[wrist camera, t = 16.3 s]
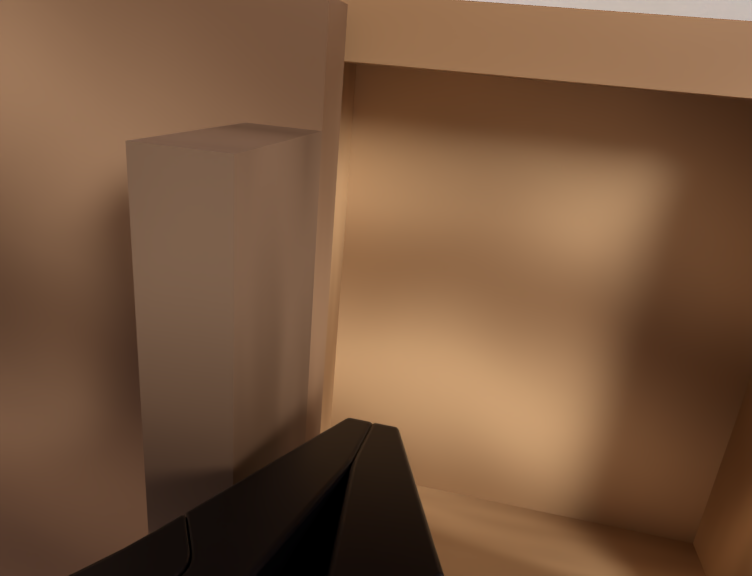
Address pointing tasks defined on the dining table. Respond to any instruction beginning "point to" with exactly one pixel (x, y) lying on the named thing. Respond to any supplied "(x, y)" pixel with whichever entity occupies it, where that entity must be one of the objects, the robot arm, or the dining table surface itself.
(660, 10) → the dining table surface
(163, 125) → the lid
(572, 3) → the dining table surface
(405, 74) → the wooden box
